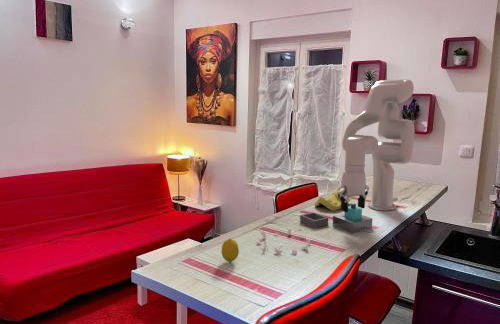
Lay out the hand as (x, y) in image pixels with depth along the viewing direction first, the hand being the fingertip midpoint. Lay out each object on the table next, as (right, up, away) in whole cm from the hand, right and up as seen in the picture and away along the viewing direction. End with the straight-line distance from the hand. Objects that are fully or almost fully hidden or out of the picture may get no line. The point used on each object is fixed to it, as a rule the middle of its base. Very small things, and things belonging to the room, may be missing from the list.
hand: (352, 209), depth 151 cm
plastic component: (0, -2, +31) cm, 31 cm away
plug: (0, -7, +1) cm, 7 cm away
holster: (-15, -7, +5) cm, 17 cm away
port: (0, -7, +1) cm, 7 cm away
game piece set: (-30, -11, -16) cm, 35 cm away
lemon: (-48, -13, -31) cm, 59 cm away
